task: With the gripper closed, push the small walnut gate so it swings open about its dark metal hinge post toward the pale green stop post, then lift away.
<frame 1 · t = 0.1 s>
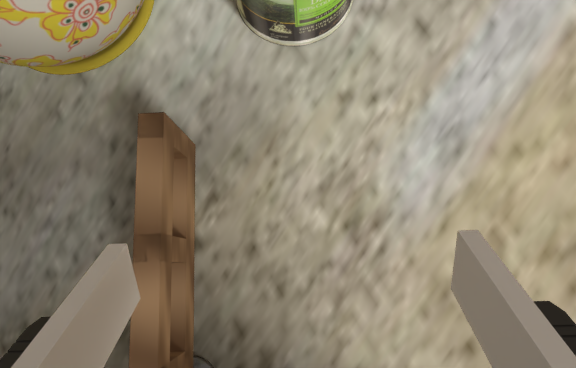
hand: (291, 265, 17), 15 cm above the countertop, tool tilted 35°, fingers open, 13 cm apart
flowerpot: (83, 8, 37), on the countertop
gate: (167, 250, 27), point 5 cm above the countertop, hinge at 0.0°
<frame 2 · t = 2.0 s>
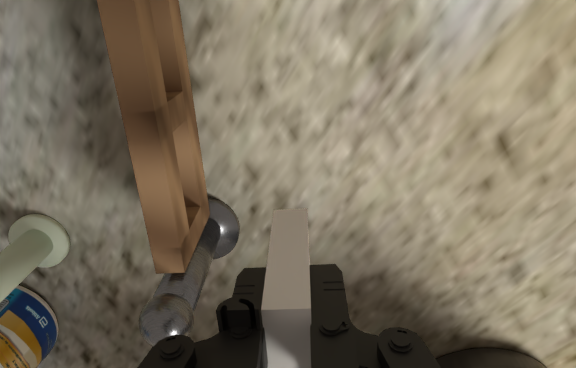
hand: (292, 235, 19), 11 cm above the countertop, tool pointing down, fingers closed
gate: (163, 111, 23), point 5 cm above the countertop, hinge at 0.0°
hinge post: (206, 227, 32), on the countertop
stop post: (41, 239, 32), on the countertop
beverage bottle: (15, 316, 36), on the countertop
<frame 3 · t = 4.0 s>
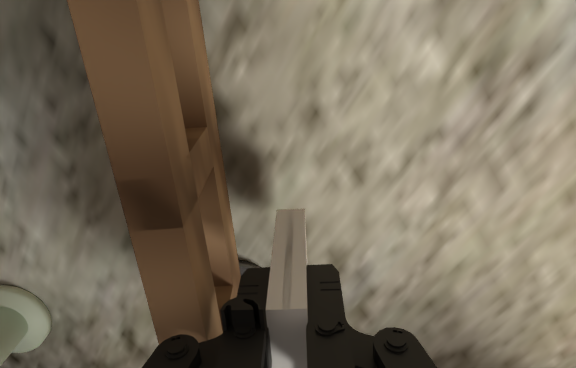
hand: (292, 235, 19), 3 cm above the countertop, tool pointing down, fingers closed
gate: (180, 161, 15), point 5 cm above the countertop, hinge at 0.6°, touching gripper
stop post: (13, 316, 24), on the countertop
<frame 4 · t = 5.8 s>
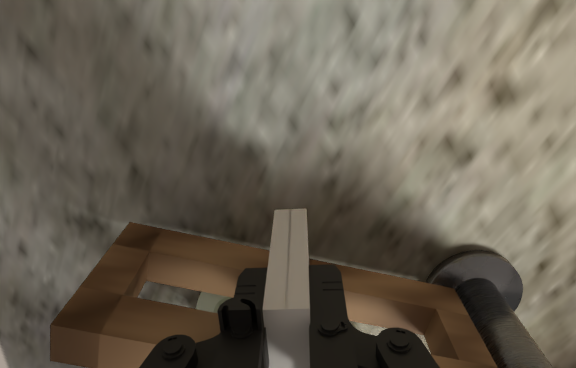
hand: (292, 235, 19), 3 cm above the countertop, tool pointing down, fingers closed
gate: (291, 317, 18), point 5 cm above the countertop, hinge at 73.2°, touching gripper
hinge post: (470, 289, 23), on the countertop
stop post: (236, 306, 24), on the countertop
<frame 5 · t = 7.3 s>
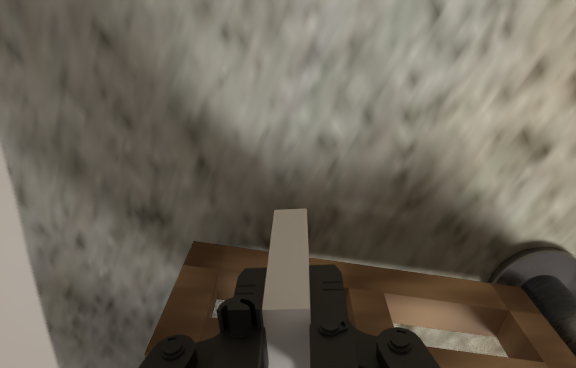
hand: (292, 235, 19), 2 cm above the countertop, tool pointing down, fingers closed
gate: (367, 328, 18), point 5 cm above the countertop, hinge at 77.9°, touching gripper
hinge post: (534, 286, 23), on the countertop
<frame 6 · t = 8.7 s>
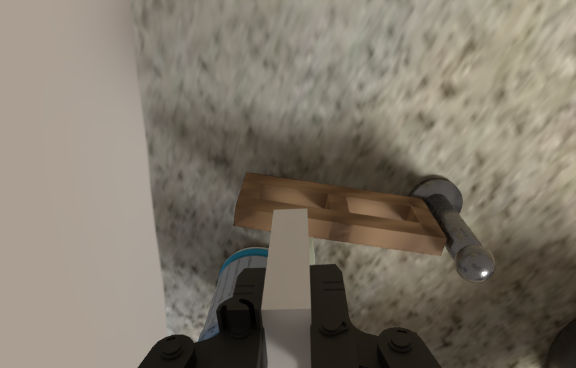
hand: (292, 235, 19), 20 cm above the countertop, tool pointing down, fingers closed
gate: (336, 211, 35), point 5 cm above the countertop, hinge at 77.9°
hinge post: (433, 202, 40), on the countertop
beverage bottle: (258, 275, 45), on the countertop
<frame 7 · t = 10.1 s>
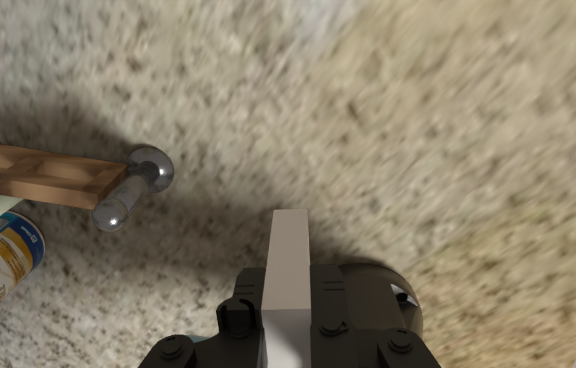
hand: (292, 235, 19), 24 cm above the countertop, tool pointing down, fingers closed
gate: (26, 171, 39), point 5 cm above the countertop, hinge at 77.9°
hinge post: (150, 169, 44), on the countertop
stop post: (32, 177, 45), on the countertop
beverage bottle: (13, 238, 48), on the countertop
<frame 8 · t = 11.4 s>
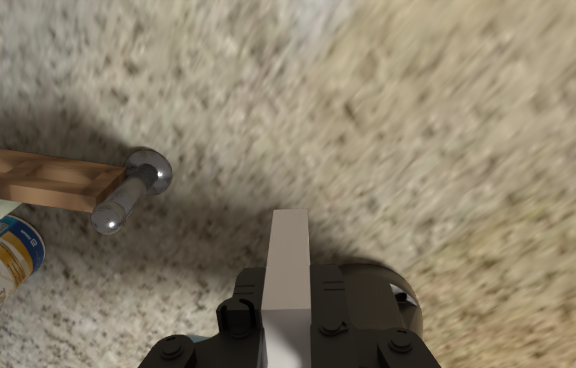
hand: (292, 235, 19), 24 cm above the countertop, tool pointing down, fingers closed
gate: (25, 175, 39), point 5 cm above the countertop, hinge at 77.9°
hinge post: (148, 171, 44), on the countertop
stop post: (31, 181, 45), on the countertop
beverage bottle: (13, 241, 49), on the countertop
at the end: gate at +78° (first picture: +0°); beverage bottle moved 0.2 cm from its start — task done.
